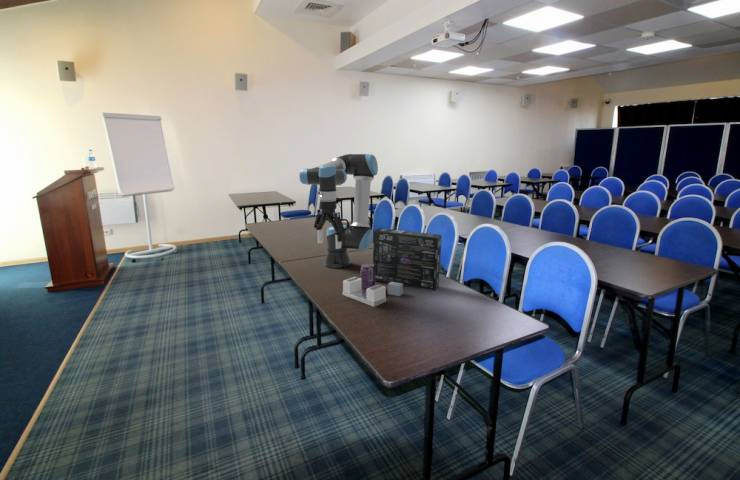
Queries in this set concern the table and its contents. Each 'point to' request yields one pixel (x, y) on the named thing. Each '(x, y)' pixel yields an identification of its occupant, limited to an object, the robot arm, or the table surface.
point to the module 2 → (375, 293)
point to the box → (407, 258)
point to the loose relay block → (395, 288)
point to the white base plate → (363, 297)
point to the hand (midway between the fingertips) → (329, 245)
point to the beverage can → (367, 275)
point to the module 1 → (352, 284)
